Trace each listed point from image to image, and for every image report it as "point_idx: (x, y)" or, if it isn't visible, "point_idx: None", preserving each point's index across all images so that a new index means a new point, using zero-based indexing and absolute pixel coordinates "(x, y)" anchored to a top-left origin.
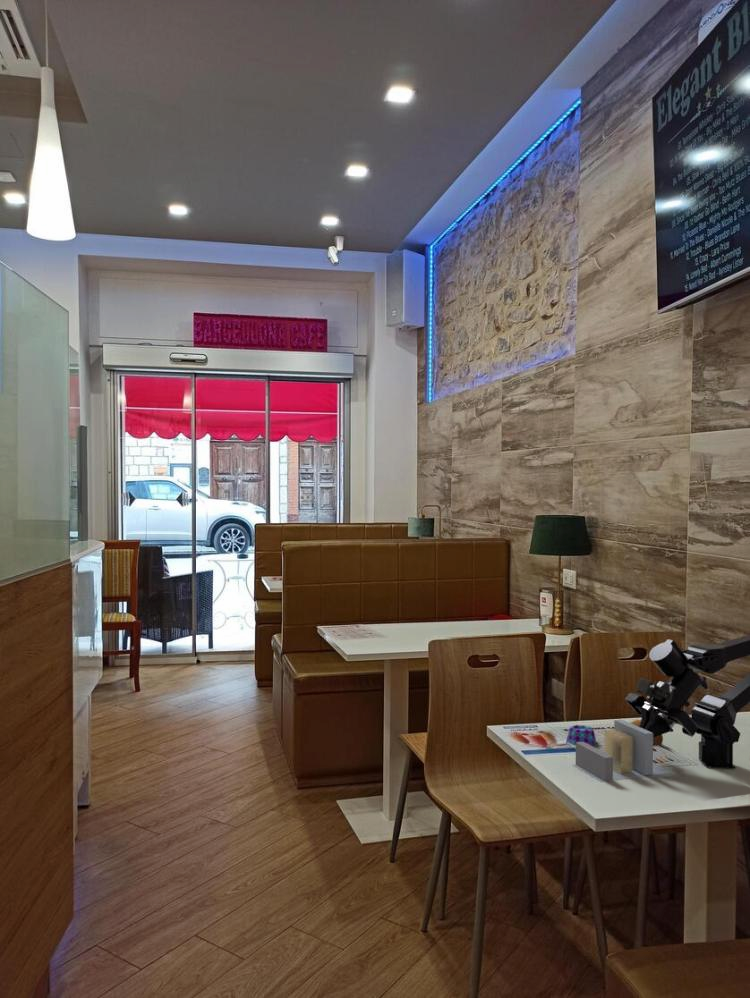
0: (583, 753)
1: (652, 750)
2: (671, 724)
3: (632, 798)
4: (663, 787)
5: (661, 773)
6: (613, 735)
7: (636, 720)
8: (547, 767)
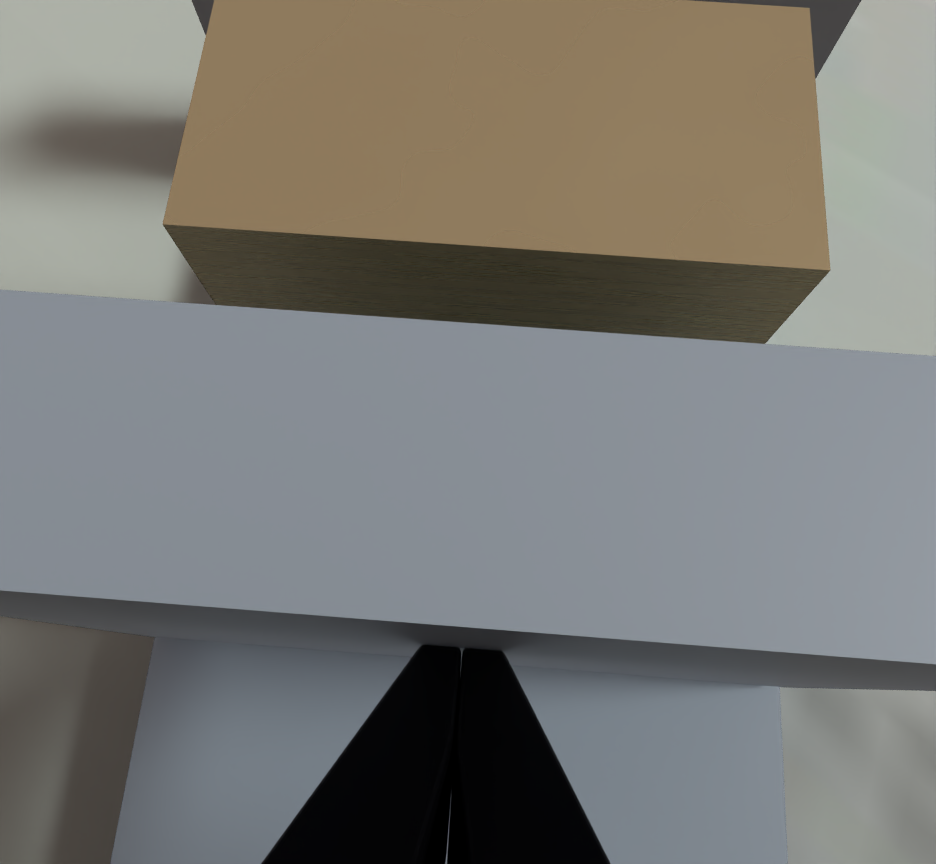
0: None
1: None
2: None
3: (3, 179)
4: (25, 641)
5: (148, 803)
6: (493, 9)
7: None
8: (880, 7)
